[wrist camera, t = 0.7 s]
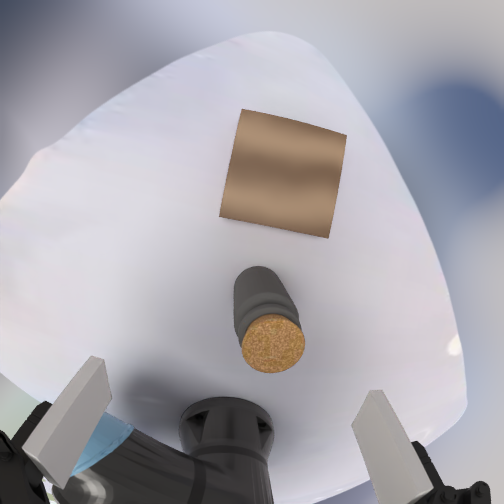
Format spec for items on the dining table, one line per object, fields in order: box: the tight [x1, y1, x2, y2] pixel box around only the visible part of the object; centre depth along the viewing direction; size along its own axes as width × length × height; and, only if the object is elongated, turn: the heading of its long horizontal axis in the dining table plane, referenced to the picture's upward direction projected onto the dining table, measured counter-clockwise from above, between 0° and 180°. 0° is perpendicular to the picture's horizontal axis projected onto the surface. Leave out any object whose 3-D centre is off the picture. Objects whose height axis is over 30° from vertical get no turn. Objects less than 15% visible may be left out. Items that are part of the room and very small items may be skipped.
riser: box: [219, 109, 347, 238], centre depth 30 cm, size 12×12×4 cm
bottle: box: [234, 266, 305, 373], centre depth 27 cm, size 6×6×15 cm
